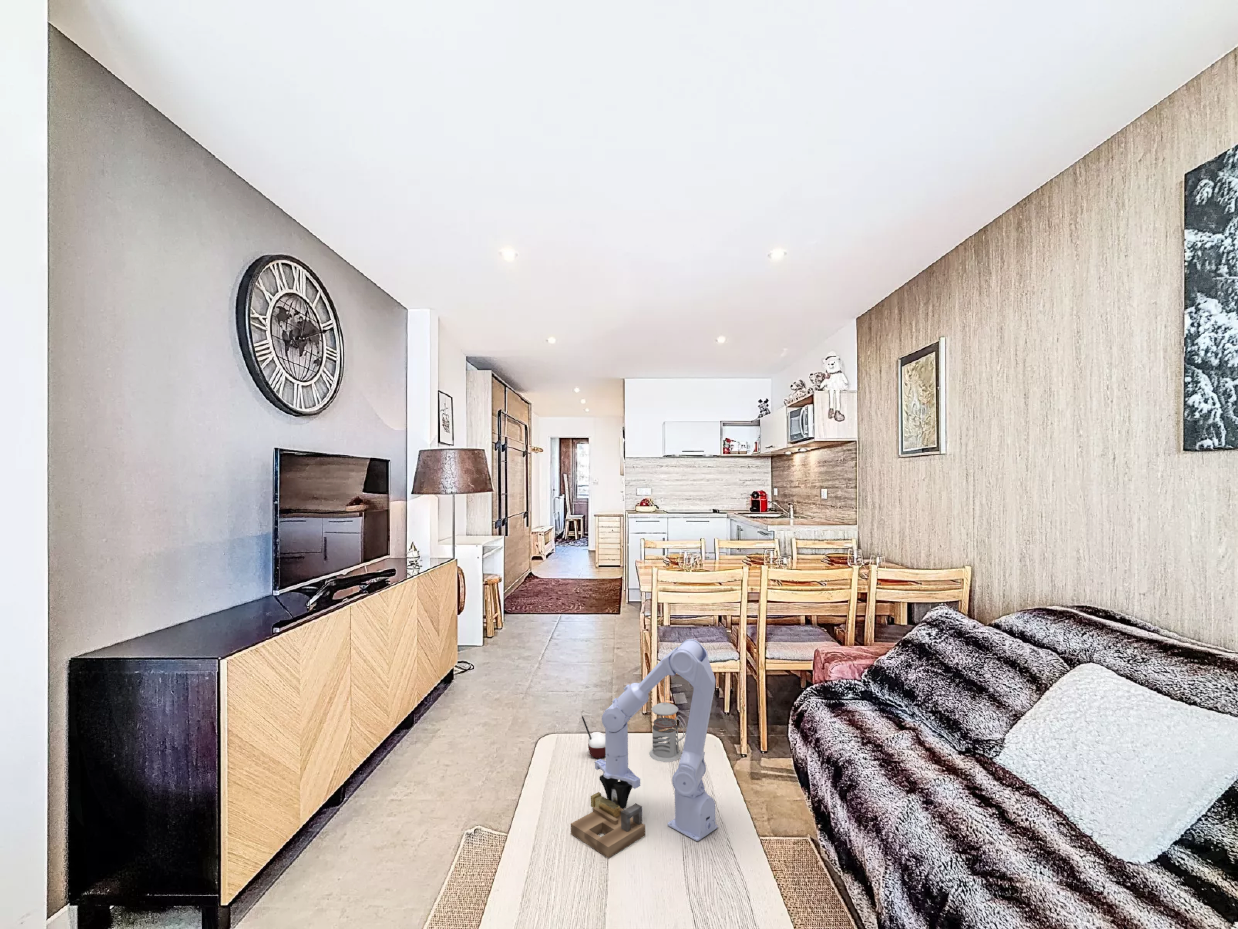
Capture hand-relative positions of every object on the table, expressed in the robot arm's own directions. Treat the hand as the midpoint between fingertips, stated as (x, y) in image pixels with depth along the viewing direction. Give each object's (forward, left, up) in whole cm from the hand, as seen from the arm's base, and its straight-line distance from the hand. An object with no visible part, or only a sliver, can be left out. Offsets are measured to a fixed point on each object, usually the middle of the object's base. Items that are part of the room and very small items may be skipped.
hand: (617, 805), depth 158 cm
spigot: (0, 0, -1) cm, 1 cm away
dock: (-5, +9, -1) cm, 10 cm away
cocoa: (+26, -17, -2) cm, 31 cm away
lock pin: (-1, +5, +1) cm, 5 cm away
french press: (+11, -32, -2) cm, 34 cm away
